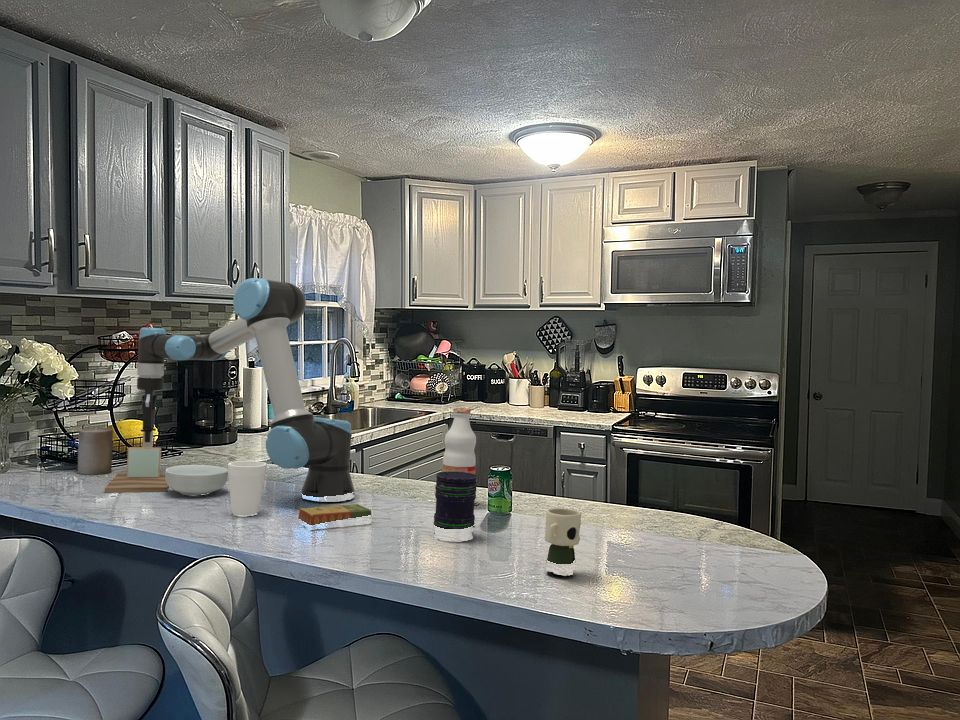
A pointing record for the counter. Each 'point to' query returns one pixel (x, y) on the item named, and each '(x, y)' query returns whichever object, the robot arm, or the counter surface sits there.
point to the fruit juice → (460, 444)
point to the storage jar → (455, 500)
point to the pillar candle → (95, 451)
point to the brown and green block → (332, 513)
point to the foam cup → (246, 486)
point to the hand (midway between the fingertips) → (147, 452)
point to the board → (137, 484)
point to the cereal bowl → (196, 478)
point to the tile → (143, 462)
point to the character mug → (562, 534)
